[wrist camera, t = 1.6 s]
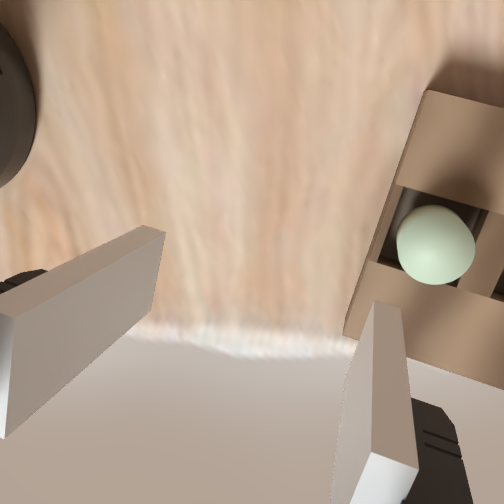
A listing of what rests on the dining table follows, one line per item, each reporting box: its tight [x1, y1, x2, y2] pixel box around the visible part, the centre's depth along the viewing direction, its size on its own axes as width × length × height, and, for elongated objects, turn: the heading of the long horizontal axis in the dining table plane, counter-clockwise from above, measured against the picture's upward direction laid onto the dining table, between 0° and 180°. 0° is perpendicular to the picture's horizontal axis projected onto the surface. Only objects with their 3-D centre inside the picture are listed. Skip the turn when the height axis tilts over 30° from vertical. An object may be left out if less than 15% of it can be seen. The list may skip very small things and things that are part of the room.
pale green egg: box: [396, 205, 475, 285], centre depth 28 cm, size 4×4×3 cm
